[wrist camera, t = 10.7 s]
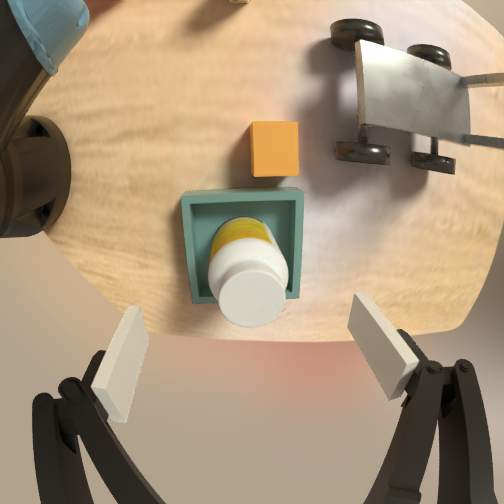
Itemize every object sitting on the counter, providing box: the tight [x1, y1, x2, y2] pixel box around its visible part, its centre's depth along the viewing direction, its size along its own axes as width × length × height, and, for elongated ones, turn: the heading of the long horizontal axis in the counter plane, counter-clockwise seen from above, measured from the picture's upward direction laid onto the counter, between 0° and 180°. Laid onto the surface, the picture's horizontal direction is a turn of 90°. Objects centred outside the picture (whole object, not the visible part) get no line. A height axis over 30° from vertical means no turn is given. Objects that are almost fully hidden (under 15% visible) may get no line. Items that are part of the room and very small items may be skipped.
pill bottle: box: [208, 216, 288, 328], centre depth 24 cm, size 6×6×12 cm
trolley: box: [330, 19, 504, 175], centre depth 17 cm, size 16×15×18 cm
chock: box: [250, 121, 299, 177], centre depth 25 cm, size 4×5×4 cm
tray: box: [181, 187, 304, 304], centre depth 28 cm, size 12×12×3 cm
